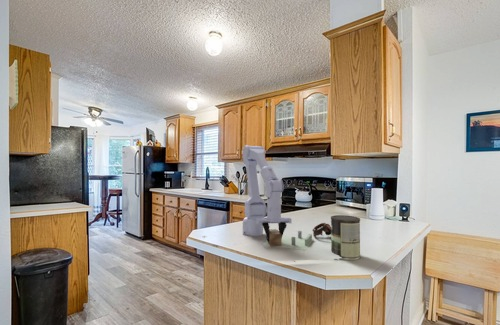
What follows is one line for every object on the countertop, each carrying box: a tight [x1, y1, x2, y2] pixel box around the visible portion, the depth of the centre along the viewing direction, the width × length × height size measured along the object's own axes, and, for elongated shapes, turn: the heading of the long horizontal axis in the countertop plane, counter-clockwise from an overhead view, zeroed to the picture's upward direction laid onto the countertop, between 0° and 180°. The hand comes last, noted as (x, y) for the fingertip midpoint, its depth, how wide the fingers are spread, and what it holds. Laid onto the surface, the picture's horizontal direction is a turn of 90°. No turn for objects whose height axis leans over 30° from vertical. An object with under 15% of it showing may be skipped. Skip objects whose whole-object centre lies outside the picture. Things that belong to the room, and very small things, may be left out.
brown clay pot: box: [312, 222, 331, 238], centre depth 117 cm, size 12×10×8 cm
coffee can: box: [330, 214, 361, 261], centre depth 92 cm, size 10×10×14 cm
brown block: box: [268, 228, 281, 247], centre depth 103 cm, size 4×8×5 cm, turn 6°
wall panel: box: [261, 230, 314, 251], centre depth 106 cm, size 18×18×4 cm
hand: (273, 240), depth 103 cm, fingers closed on brown block, 4 cm apart
